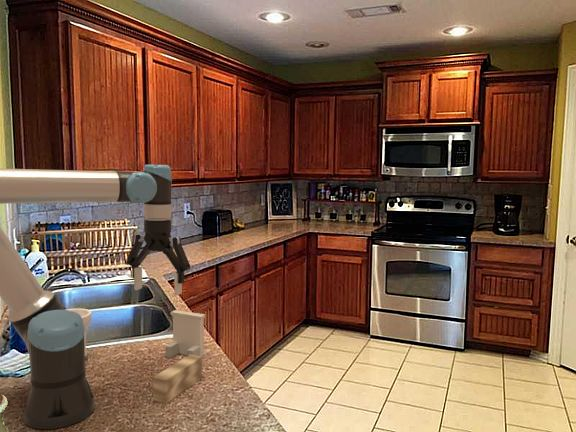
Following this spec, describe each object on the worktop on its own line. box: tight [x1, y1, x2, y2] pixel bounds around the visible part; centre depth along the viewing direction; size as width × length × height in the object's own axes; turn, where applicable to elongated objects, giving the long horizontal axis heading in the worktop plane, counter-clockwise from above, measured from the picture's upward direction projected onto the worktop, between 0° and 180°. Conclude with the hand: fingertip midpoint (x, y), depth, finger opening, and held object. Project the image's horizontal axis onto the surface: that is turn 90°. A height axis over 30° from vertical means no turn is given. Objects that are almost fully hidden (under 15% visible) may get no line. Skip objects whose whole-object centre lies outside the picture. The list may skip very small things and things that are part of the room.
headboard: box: [164, 309, 206, 359], centre depth 147 cm, size 6×11×13 cm, turn 67°
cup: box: [66, 308, 92, 358], centre depth 144 cm, size 11×11×14 cm
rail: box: [152, 354, 203, 404], centre depth 127 cm, size 16×4×6 cm, turn 157°
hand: (157, 291), depth 139 cm, fingers open, 13 cm apart
